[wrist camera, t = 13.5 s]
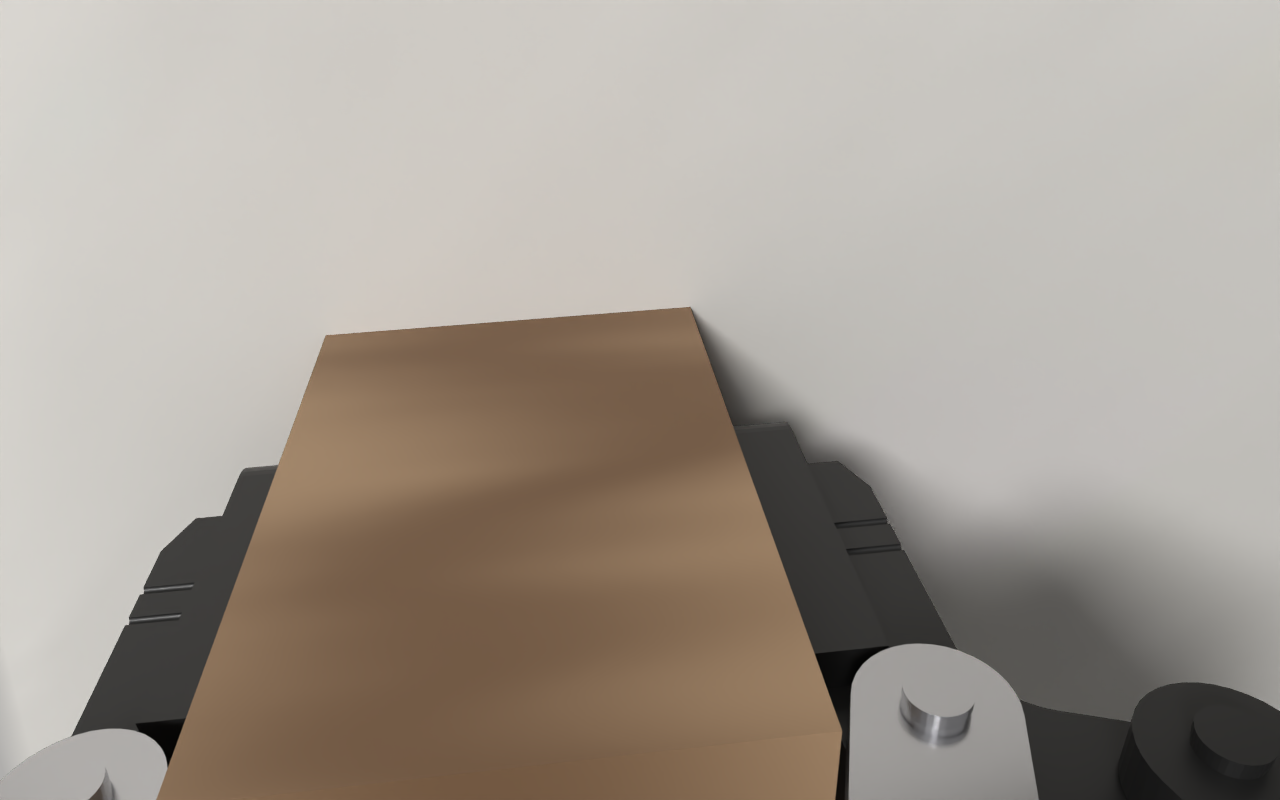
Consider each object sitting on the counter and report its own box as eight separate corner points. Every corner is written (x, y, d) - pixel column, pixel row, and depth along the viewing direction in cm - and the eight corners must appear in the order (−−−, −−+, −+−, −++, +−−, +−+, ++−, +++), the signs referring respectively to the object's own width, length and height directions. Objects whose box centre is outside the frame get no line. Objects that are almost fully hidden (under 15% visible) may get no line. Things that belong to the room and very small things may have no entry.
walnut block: (690, 306, 11) (842, 730, 6) (692, 580, 13) (806, 1072, 8) (325, 334, 11) (153, 809, 6) (386, 610, 13) (301, 1143, 8)
